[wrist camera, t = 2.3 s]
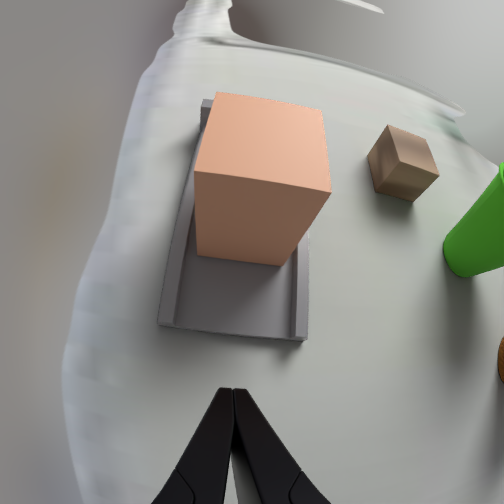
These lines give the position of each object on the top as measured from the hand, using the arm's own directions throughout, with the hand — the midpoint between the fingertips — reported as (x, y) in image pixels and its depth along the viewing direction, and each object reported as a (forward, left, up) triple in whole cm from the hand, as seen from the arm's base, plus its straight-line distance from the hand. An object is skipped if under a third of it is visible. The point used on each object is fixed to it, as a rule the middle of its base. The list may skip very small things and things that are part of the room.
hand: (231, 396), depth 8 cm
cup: (+12, -24, -11) cm, 29 cm away
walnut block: (+20, -16, -10) cm, 28 cm away
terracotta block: (+11, -1, -9) cm, 15 cm away
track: (+13, -1, -10) cm, 17 cm away
